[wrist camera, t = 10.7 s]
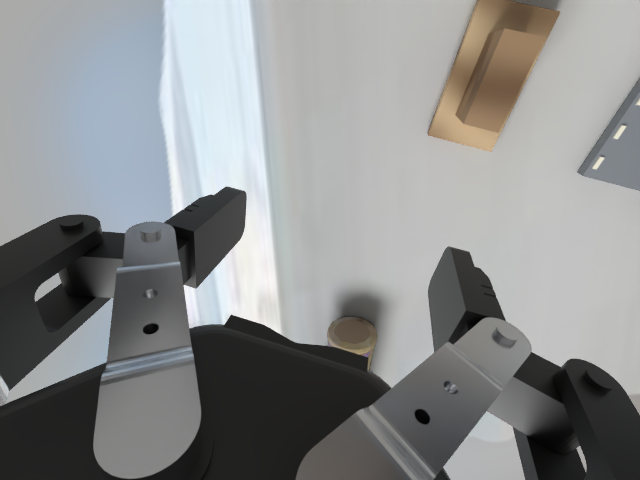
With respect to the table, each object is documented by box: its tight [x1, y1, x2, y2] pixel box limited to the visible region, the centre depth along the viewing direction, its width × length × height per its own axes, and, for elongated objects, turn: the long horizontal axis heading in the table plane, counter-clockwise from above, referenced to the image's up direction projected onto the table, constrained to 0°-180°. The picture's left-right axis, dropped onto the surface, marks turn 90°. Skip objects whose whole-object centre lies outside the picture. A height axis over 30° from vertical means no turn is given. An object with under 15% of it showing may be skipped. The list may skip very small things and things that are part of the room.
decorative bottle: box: [327, 317, 377, 370], centre depth 53 cm, size 26×8×7 cm, turn 176°
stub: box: [428, 0, 560, 152], centre depth 28 cm, size 12×7×7 cm, turn 168°
